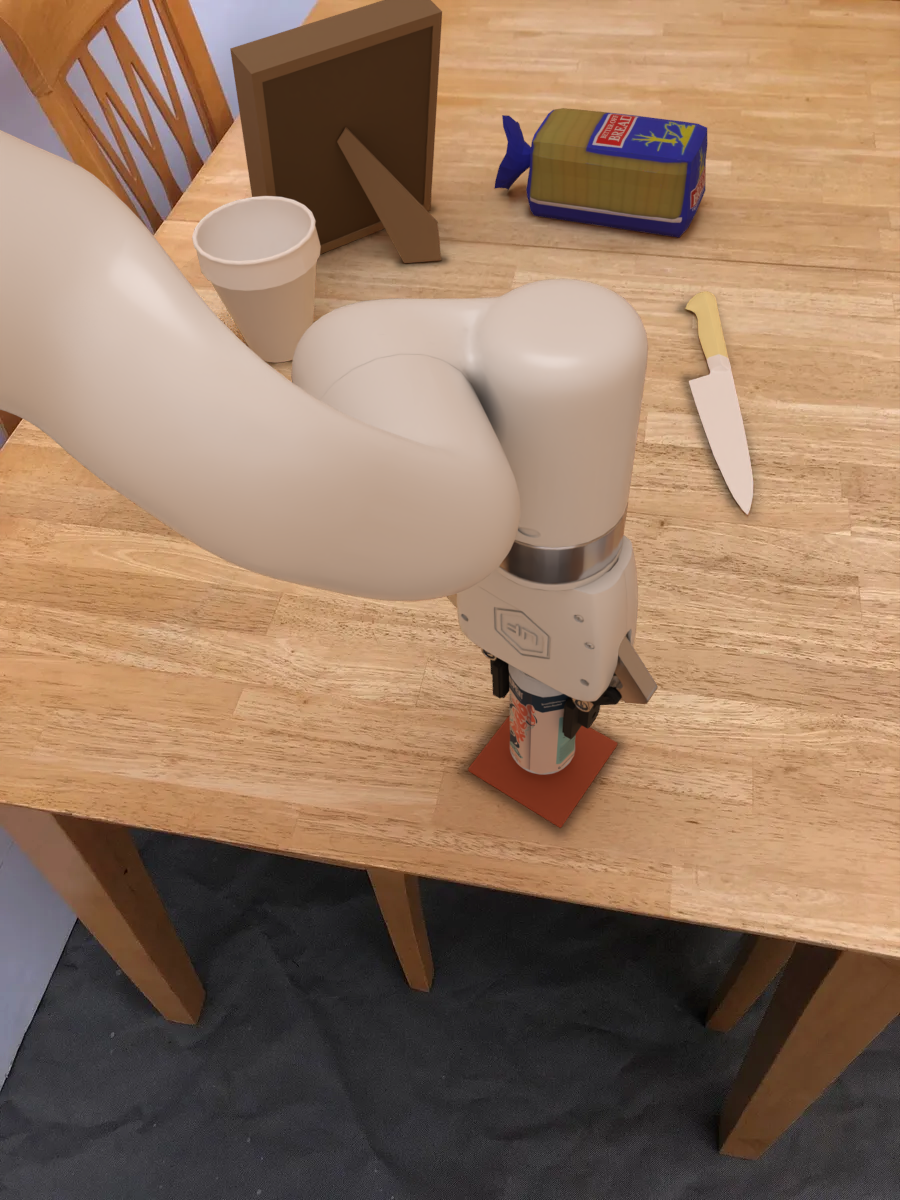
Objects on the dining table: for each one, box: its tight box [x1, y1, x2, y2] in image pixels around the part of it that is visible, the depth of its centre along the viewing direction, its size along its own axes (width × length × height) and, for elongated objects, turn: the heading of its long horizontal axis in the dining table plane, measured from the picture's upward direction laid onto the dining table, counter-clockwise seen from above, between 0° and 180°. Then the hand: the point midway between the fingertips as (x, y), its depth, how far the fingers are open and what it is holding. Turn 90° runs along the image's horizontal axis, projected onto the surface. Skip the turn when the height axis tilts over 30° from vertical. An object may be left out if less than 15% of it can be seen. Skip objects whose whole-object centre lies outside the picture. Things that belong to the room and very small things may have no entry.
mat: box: [467, 714, 618, 829], centre depth 68 cm, size 8×8×1 cm
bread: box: [493, 107, 708, 238], centre depth 110 cm, size 10×25×10 cm, turn 68°
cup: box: [191, 196, 321, 364], centre depth 96 cm, size 12×12×14 cm
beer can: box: [508, 664, 576, 775], centre depth 63 cm, size 5×5×12 cm
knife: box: [684, 290, 754, 516], centre depth 92 cm, size 1×33×4 cm
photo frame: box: [229, 0, 443, 264], centre depth 102 cm, size 15×22×25 cm
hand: (543, 700), depth 62 cm, fingers closed on beer can, 4 cm apart
